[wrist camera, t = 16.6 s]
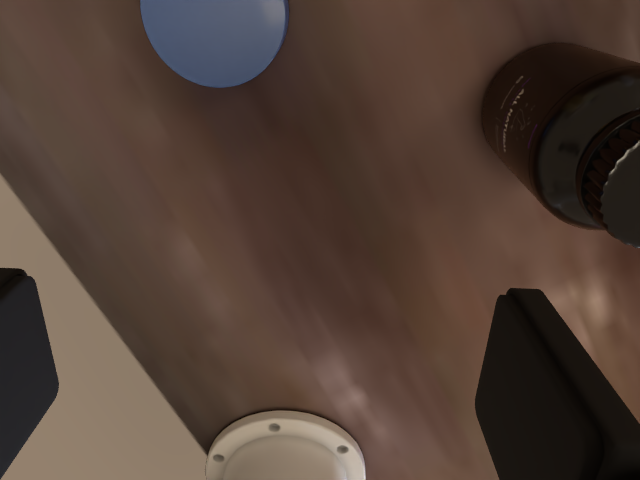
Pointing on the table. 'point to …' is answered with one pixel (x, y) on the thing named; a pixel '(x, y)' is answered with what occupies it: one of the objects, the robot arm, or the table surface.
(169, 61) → the lid
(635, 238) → the supplement bottle
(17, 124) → the table surface
